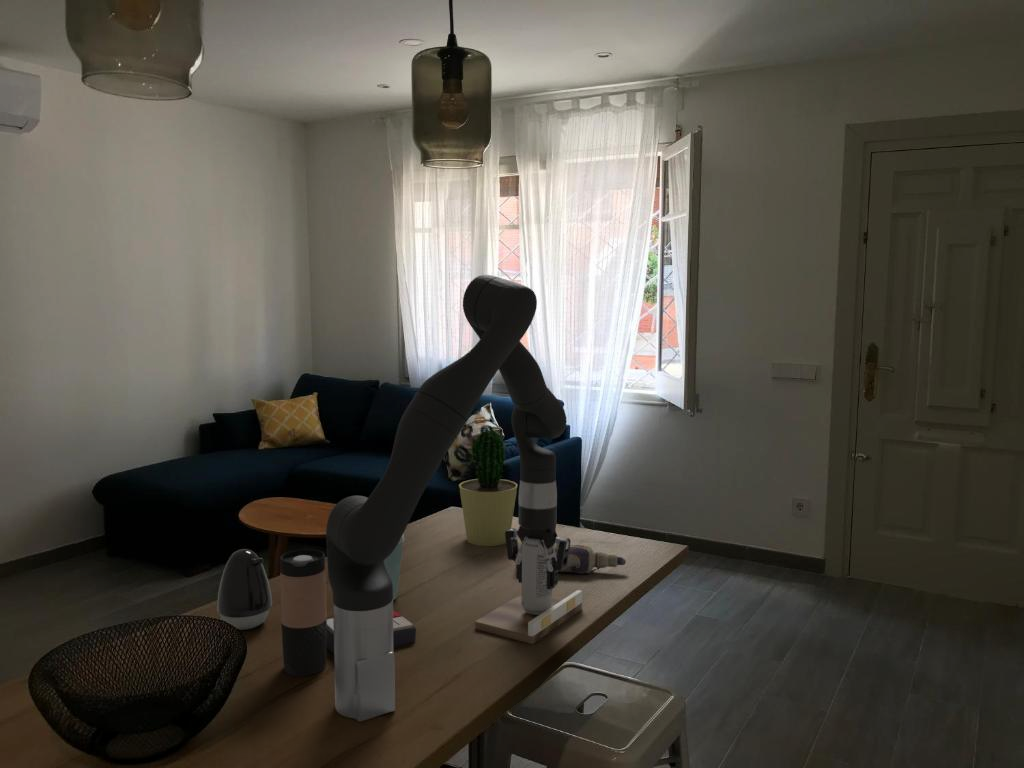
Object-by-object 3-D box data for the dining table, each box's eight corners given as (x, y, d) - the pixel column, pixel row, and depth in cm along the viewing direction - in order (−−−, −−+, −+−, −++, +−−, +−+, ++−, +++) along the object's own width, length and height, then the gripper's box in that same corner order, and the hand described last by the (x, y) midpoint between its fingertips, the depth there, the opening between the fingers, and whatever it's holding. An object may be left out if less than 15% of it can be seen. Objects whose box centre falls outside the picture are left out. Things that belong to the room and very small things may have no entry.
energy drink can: (536, 601, 167) (537, 530, 165) (557, 610, 163) (558, 537, 161) (515, 609, 163) (515, 536, 161) (536, 618, 159) (537, 543, 157)
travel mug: (309, 653, 148) (307, 546, 146) (336, 665, 143) (334, 555, 141) (273, 668, 142) (270, 556, 140) (300, 681, 137) (297, 566, 135)
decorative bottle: (513, 574, 190) (513, 546, 189) (517, 564, 197) (517, 537, 197) (625, 580, 187) (626, 551, 186) (625, 569, 194) (625, 542, 193)
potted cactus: (493, 527, 227) (493, 421, 224) (529, 540, 215) (530, 428, 212) (447, 538, 217) (447, 427, 214) (482, 552, 206) (483, 435, 202)
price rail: (533, 636, 152) (533, 623, 152) (528, 635, 152) (528, 622, 152) (582, 602, 169) (583, 591, 168) (577, 601, 169) (577, 589, 169)
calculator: (417, 623, 153) (341, 637, 145) (416, 646, 153) (340, 661, 145) (392, 605, 162) (319, 617, 154) (391, 626, 162) (318, 639, 154)
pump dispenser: (243, 640, 153) (240, 561, 152) (206, 628, 159) (203, 552, 157) (284, 621, 162) (282, 547, 160) (248, 610, 167) (246, 538, 166)
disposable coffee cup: (395, 609, 168) (394, 538, 167) (346, 605, 170) (345, 535, 169) (412, 591, 179) (411, 524, 177) (365, 587, 181) (364, 521, 179)
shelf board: (532, 644, 152) (532, 636, 152) (475, 628, 159) (475, 621, 159) (581, 609, 169) (582, 602, 169) (528, 596, 176) (528, 590, 176)
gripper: (579, 503, 160) (577, 586, 162) (516, 493, 167) (515, 573, 169) (560, 512, 153) (559, 598, 155) (496, 501, 161) (496, 583, 163)
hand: (536, 584), depth 162 cm, fingers closed on energy drink can, 6 cm apart
